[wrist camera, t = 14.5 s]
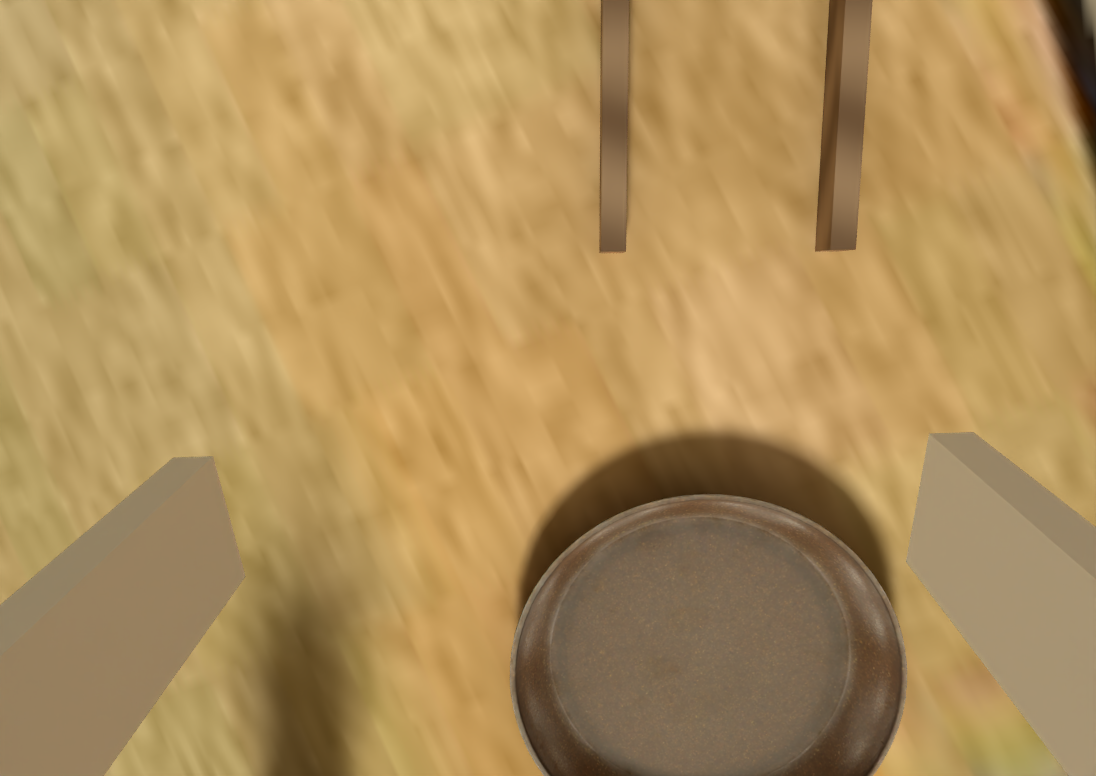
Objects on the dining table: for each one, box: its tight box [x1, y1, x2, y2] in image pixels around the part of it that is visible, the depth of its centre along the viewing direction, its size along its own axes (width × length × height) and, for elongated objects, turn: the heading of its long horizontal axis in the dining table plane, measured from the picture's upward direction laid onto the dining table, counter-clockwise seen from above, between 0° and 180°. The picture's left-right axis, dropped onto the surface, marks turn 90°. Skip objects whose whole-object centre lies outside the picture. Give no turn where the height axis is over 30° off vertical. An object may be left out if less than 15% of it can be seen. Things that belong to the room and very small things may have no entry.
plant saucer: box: [510, 494, 907, 776], centre depth 36 cm, size 21×21×3 cm
